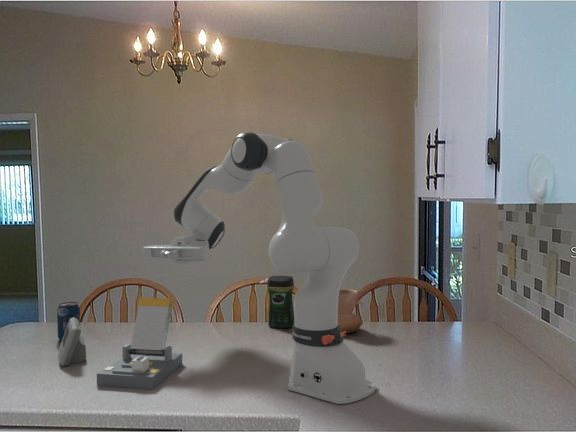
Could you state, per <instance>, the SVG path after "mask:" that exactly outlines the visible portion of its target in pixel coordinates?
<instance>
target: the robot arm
mask: <svg viewBox="0 0 576 432" xmlns="http://www.w3.org/2000/svg"><path fill="white" fill-rule="evenodd" d="M231 144H232V145H231V147H230V149H229V150H228V151H227V153H226V154H225V156H224V158H223V160H222V162H221V164H219V165H217V166H216V165H213V166H210V167H209V168H208V169H206V170H205V171H204V172H203V173H202V174H201V176H200V177H199V178H197V180H196V181H195V183H194V184H193V186H192V187H191V188H190V190H189V191H188V192H187V193H186V195H185V196H183V198H182V199H181V201H179V202H178V203H177V204H176V205H175V207H174V210H173V218H174V221H175V222H176V223H177V224H179V225H180V226H183V228H185V229H186V230H188V231H189V232H190V233H191V234H188V235H183V236H179V237H176V238H174V239H173V240H171V242H170V244H166V245H165V244H155V245H146V246H143V247H142V257H143V259H148V260H149V259H150V260H151V259H155V260H158V259H160V260H172V261H173V262H174V263H176V264H179V265H186V264H188V263H189V264H190V263H193V262H205V261H208V260H209V257H210V251H211V250H212V249H214V248H215V247H216V246H218V244H219V243H220V242H221V240H222V239H223V237H224V235H225V230H226V228H225V227H226V225H225V222H224V221H223V220H222V219H221V218H220V217H219V216H217V215H216V214H215V213H214V212H212V211H210V209H209V208H207V207H206V206H205V205H203V204H202V203H201V199H202V197H203V196H204V195H205V194H206V193H207V191H209V189H212V190H216V191H219V192H222V193H225V194H229V195H235V194H236V195H237V194H242V193H244V192H246V190H248V189H249V187H250V186H251V184H252V183H253V181H254V180H255V178H256V176H257V174H258V173H261V174H265V175H273V176H274V181H275V185H276V189H277V193H278V198H279V203H280V207H281V222H280V225H279V228H278V230H277V231H276V233H274V235H273V236H272V237H271V240H270V242H269V246H268V258H269V261H270V263H271V264H272V266H273V267H274V268H275V269H276V270H277V271H278V272H282V273H291V274H301V273H308V276H307V279H306V281H305V283H304V284H303V285H302V286H301V287H300V288H298V289H297V290H296V292H295V294H294V297H293V310H294V325H293V327H292V331H291V332H292V340H293V349H292V354H291V355H292V356H291V364H290V372H289V376H288V384H287V390H289V391H291V392H294V393H298V394H302V395H305V396H309V397H313V398H315V399H319V400H323V401H327V402H330V403H333V404H337V405H345V404H351V403H353V402H354V403H355V402H359V401H361V400H363V399H365V398H367V397H370V396H371V395H372V394H374V392H375V391H376V389H377V387H376V383H375V382H372V381H370V380H368V379H367V375H366V368H365V365H364V363H363V362H362V360H361V359H360V358H359V357H358V356H357V355H356V354H355V353H354V352H353V350H351V349H350V347H349V346H348V345H347V344H346V342H345V341H344V337H345V336H347V334H345V333H346V331H344V332H341V329H340V327H339V325H338V297H339V291H340V289H341V287H342V283H343V282H344V281H343V280H344V278H345V277H346V276H345V275H346V274H347V272H348V270H349V269H350V267H351V266H352V264H354V263H355V262H356V260H357V258H358V257H359V255H360V242H359V239H358V237H357V235H356V234H355V232H354V231H352V230H351V229H347V228H344V227H340V226H319V227H316V225H315V220H314V217H315V214H317V213H318V211H320V210H321V208H322V206H323V205H324V196H323V191H322V189H321V187H320V183H319V179H318V175H317V171H316V170H315V167H314V163H313V161H312V159H311V158H312V157H310V155H309V152H308V151H307V149H306V147H305V145H304V144H303V143H301V142H300V141H297V140H293V139H290V138H283V137H280V136H276V135H273V134H267V133H254V132H243V133H240V134H238V135H237V136H236V137H235V138H234V140H233V142H232V143H231Z"/></svg>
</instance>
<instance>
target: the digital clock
mask: <svg viewBox="0 0 576 432" xmlns="http://www.w3.org/2000/svg"><path fill="white" fill-rule="evenodd" d="M81 329H82V328H81V324H80V325H79V321H78V319H77V318H74V317H73V318H70V320H69V323H68V325H67V328H66V331H65V333H64V336H63V339H62V341H60V344H59V348H58V362H59V364H60V365H61V367H67V366H69V365H70V364H72V363H78V362H85V361H86V360H87V349H86V344H85V339H84V337H83V336H81V332H82V331H81Z"/></svg>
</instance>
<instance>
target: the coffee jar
mask: <svg viewBox="0 0 576 432" xmlns="http://www.w3.org/2000/svg"><path fill="white" fill-rule="evenodd" d="M266 288H267V291H268V297H269V299H268V301H269V302H268V304H269V305H268V314H267V315H268V319H267V324H268V327H270V328H275V329H289V328H293V325H294V300H293V291H294V289H295V282H294V278H293V276H291V275H271V276H269V277H268V280H267V286H266Z"/></svg>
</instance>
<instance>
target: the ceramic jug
mask: <svg viewBox="0 0 576 432" xmlns="http://www.w3.org/2000/svg"><path fill="white" fill-rule="evenodd" d="M357 298H358V291H357V290H356V289H348V288H340V291H339V297H338V325H339V327H340V329H341V332H344V331H346V333H345V334H344V335H348V334H351V333H354V332H356V331H358V330H359V329H360V328H361V327H362V325H363V323H364V322H363V320H362V319H361V318H360V317H359V316H358V315H356V314H355V313H353V310H354V307H355V306H357V305H360V304H361V306H363V305H364V303H365V301H364V300H362V299H358V300H357Z"/></svg>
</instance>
